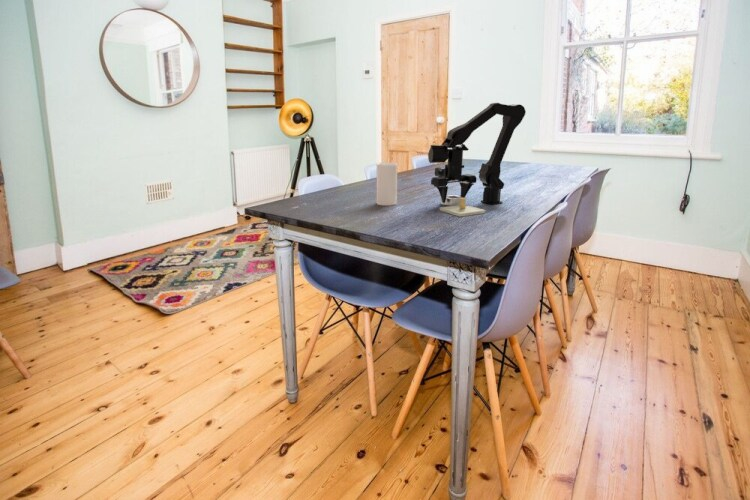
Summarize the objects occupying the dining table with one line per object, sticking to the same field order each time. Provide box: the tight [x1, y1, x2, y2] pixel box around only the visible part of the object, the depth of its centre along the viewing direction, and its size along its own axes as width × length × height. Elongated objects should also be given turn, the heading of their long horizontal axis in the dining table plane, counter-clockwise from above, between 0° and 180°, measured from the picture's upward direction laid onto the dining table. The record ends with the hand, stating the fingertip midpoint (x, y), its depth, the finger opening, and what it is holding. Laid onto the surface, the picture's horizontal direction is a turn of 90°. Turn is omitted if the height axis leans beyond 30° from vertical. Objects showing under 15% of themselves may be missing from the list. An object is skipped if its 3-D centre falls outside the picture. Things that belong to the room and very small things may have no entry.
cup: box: [376, 162, 398, 206], centre depth 184 cm, size 8×8×16 cm
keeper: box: [439, 197, 486, 218], centre depth 171 cm, size 12×12×5 cm
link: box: [440, 194, 466, 207], centre depth 183 cm, size 7×7×3 cm
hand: (452, 201), depth 184 cm, fingers open, 9 cm apart
